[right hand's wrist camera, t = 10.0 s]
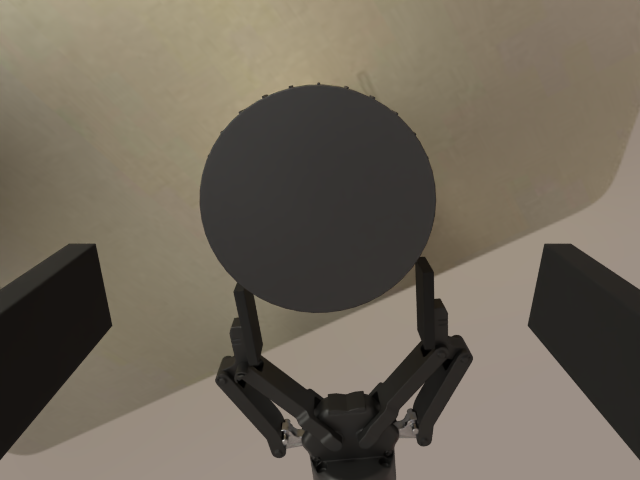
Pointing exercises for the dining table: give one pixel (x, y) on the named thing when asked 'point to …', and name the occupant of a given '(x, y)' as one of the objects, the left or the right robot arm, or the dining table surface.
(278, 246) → the lid
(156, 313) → the dining table surface
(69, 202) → the dining table surface
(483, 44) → the dining table surface
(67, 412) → the dining table surface
